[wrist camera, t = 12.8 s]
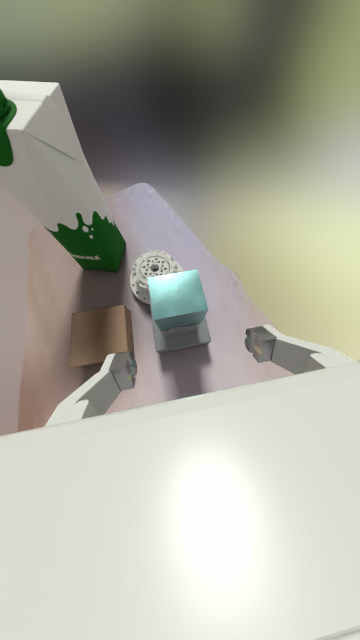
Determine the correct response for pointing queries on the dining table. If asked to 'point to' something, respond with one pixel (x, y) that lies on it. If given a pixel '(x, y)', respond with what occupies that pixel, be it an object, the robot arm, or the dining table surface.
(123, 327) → the walnut stand
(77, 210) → the milk carton
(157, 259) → the mechanical component
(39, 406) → the dining table surface
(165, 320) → the block
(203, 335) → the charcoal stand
